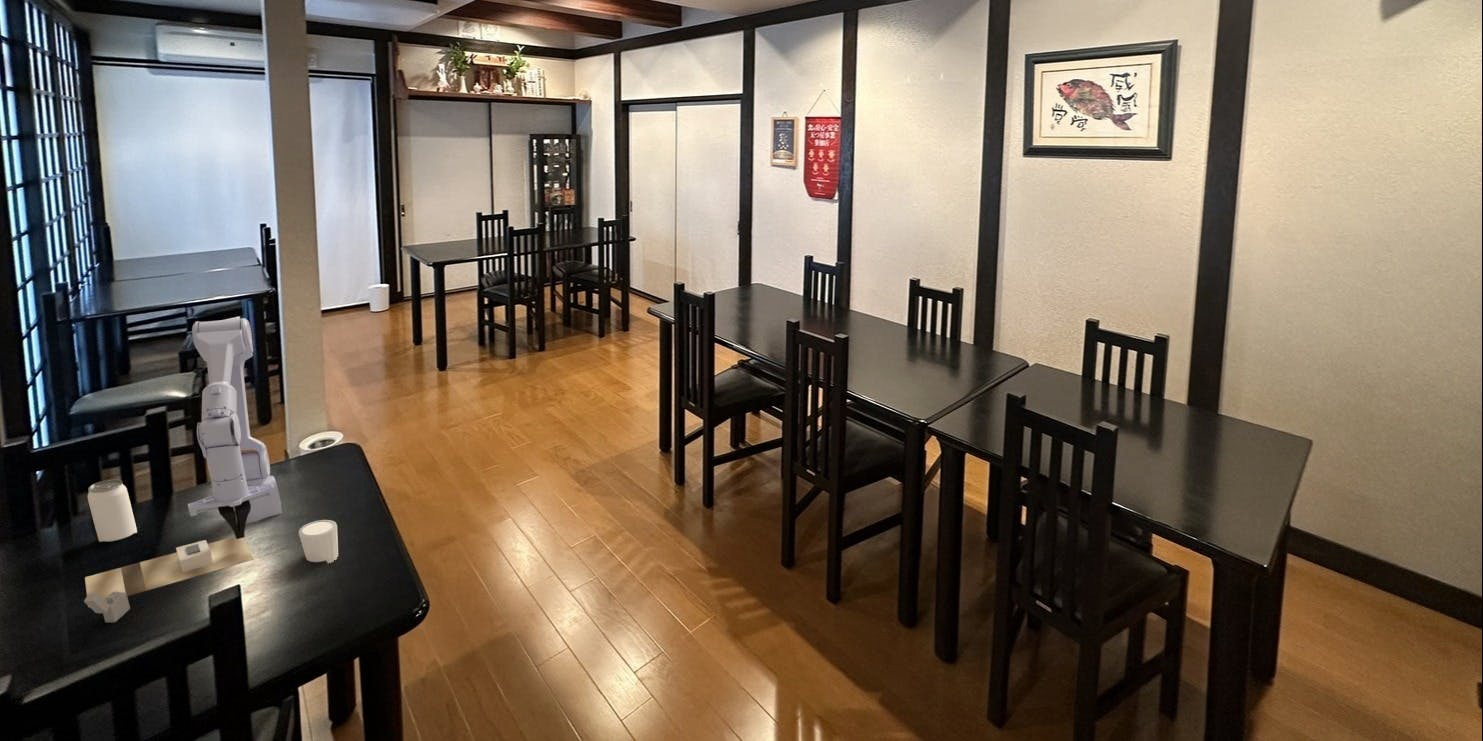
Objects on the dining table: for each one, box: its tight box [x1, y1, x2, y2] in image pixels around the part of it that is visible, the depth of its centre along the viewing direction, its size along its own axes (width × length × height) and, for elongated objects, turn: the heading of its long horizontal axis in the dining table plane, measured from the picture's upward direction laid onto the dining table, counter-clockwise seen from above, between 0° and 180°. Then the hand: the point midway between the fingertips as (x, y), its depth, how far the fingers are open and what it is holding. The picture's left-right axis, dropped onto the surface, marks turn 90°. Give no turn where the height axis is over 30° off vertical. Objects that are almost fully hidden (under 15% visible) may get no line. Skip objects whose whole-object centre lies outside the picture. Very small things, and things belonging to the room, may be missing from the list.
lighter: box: [83, 591, 131, 623], centre depth 140 cm, size 7×2×8 cm, turn 3°
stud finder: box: [175, 539, 213, 572], centre depth 159 cm, size 5×6×3 cm
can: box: [87, 479, 138, 543], centre depth 167 cm, size 6×6×12 cm
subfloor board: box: [84, 536, 255, 608], centre depth 157 cm, size 26×12×1 cm, turn 130°
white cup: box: [298, 519, 339, 565], centre depth 162 cm, size 7×7×7 cm
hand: (239, 536), depth 163 cm, fingers closed
